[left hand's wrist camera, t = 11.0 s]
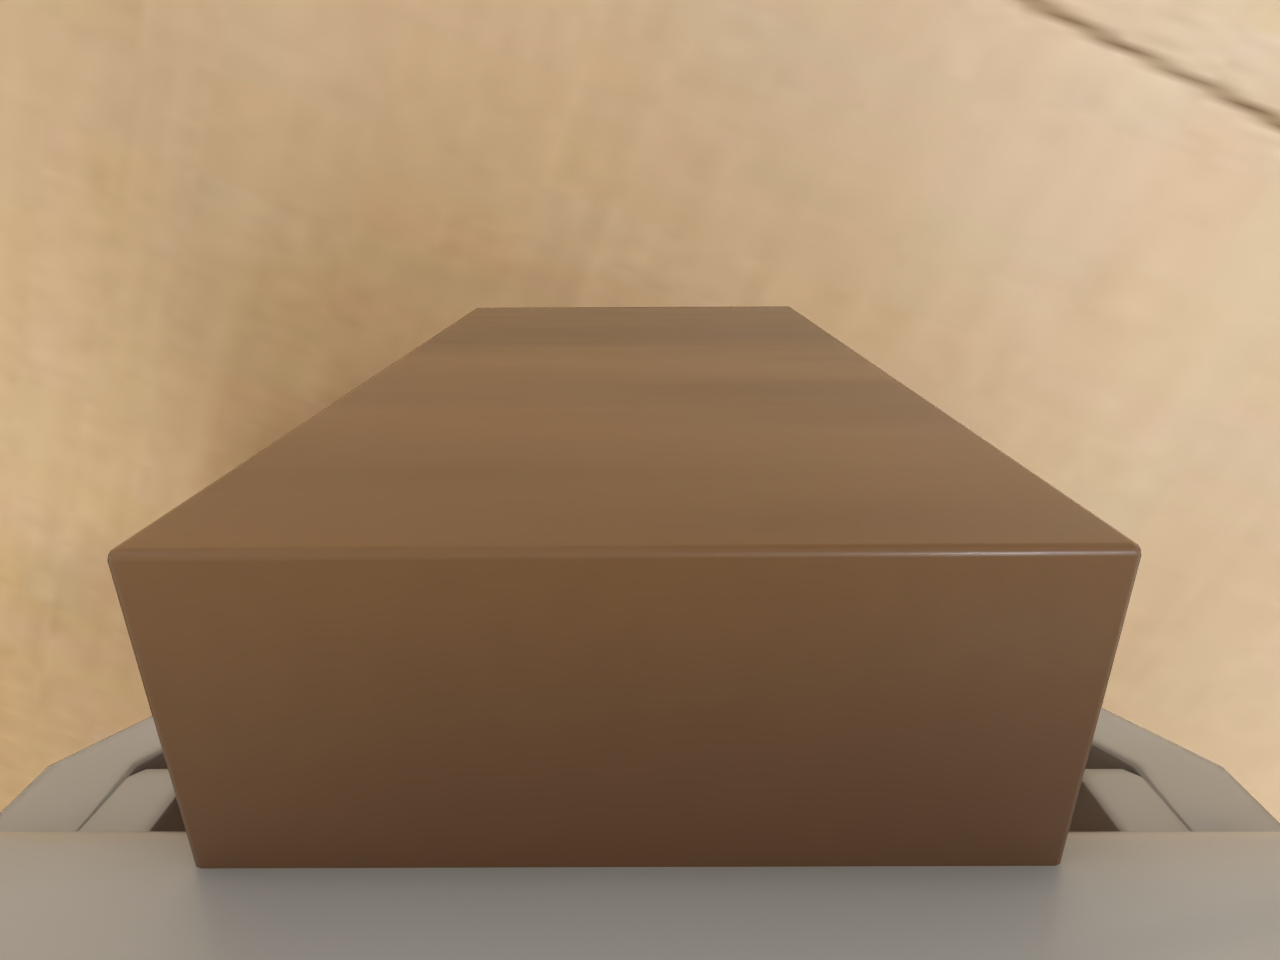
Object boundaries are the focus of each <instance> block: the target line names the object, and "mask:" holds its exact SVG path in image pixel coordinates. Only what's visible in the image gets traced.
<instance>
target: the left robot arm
mask: <svg viewBox="0 0 1280 960" xmlns="http://www.w3.org/2000/svg"><path fill="white" fill-rule="evenodd" d="M0 960H1280V823H1279V822H1278V821H1277V820H1276V819H1275V818H1274V817H1273V816H1272V815H1271V814H1270V813H1269V812H1268V811H1267V810H1266V809H1265V808H1264V807H1263V806H1262V805H1261V804H1260V803H1259V802H1258V801H1257V800H1256V799H1255V798H1254V797H1252V796H1251V795H1250V794H1249V793H1248V792H1247V791H1246V790H1245V789H1244V788H1243V787H1242V786H1241V785H1240V784H1239V783H1238V782H1237V781H1236V780H1235V779H1234V778H1233V777H1232V776H1231V775H1230V774H1229V773H1228V772H1227V771H1226V770H1225V769H1224V768H1223V767H1221V766H1219V765H1217V764H1215V763H1213V762H1211V761H1209V760H1207V759H1205V758H1203V757H1201V756H1199V755H1197V754H1195V753H1193V752H1191V751H1189V750H1187V749H1185V748H1183V747H1181V746H1178V745H1176V744H1174V743H1172V742H1170V741H1168V740H1166V739H1164V738H1162V737H1160V736H1158V735H1156V734H1154V733H1152V732H1150V731H1148V730H1146V729H1144V728H1142V727H1140V726H1138V725H1136V724H1134V723H1132V722H1129V721H1127V720H1125V719H1123V718H1121V717H1119V716H1117V715H1115V714H1113V713H1111V712H1109V711H1107V710H1105V709H1103V708H1101V710H1100V714H1099V718H1098V722H1097V725H1096V729H1095V733H1094V737H1093V741H1092V744H1091V748H1090V752H1089V756H1088V760H1087V763H1086V767H1085V771H1084V775H1083V779H1082V782H1081V786H1080V790H1079V794H1078V798H1077V801H1076V805H1075V809H1074V813H1073V817H1072V820H1071V824H1070V828H1069V832H1068V836H1067V839H1066V843H1065V847H1064V851H1063V855H1062V858H1061V862H1060V864H1058V865H1056V866H827V867H508V868H199V867H196V864H195V861H194V857H193V854H192V851H191V847H190V844H189V840H188V837H187V833H186V830H185V826H184V823H183V819H182V816H181V813H180V809H179V806H178V802H177V799H176V795H175V792H174V788H173V785H172V781H171V778H170V775H169V771H168V768H167V764H166V761H165V757H164V754H163V750H162V747H161V743H160V740H159V737H158V733H157V730H156V726H155V723H154V719H153V716H151V717H149V718H147V719H145V720H143V721H141V722H139V723H137V724H135V725H133V726H131V727H129V728H126V729H124V730H122V731H120V732H118V733H116V734H114V735H112V736H110V737H108V738H106V739H104V740H102V741H100V742H98V743H95V744H93V745H91V746H89V747H87V748H85V749H83V750H81V751H79V752H77V753H75V754H73V755H71V756H69V757H66V758H64V759H62V760H60V761H58V762H56V763H54V764H52V765H50V766H48V767H47V768H46V769H45V770H44V771H43V772H42V773H41V774H40V775H39V776H38V777H37V778H36V779H35V780H34V781H33V782H32V783H31V784H30V785H29V786H28V787H27V788H26V789H24V790H23V791H22V792H21V793H20V794H19V795H18V796H17V797H16V798H15V799H14V800H13V801H12V802H11V803H10V804H9V805H8V806H7V807H6V808H5V809H4V810H3V811H2V812H0Z"/></svg>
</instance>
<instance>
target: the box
mask: <svg viewBox="0 0 1280 960" xmlns="http://www.w3.org/2000/svg"><path fill="white" fill-rule="evenodd" d="M1140 558H1141V549H1140V547H1139V545H1138V544H1136V543H1135V542H1133V541H1132V540H1130V539H1129V538H1127V537H1126V536H1125V535H1123V534H1122V533H1120V532H1119V531H1117V530H1116V529H1114V528H1113V527H1111V526H1110V525H1108V524H1107V523H1105V522H1104V521H1103V520H1101V519H1100V518H1098V517H1097V516H1095V515H1094V514H1092V513H1091V512H1089V511H1088V510H1086V509H1085V508H1083V507H1082V506H1081V505H1079V504H1078V503H1076V502H1075V501H1073V500H1072V499H1070V498H1069V497H1067V496H1066V495H1064V494H1063V493H1061V492H1060V491H1059V490H1057V489H1056V488H1054V487H1053V486H1051V485H1050V484H1048V483H1047V482H1045V481H1044V480H1042V479H1041V478H1039V477H1038V476H1037V475H1035V474H1034V473H1032V472H1031V471H1029V470H1028V469H1026V468H1025V467H1023V466H1022V465H1020V464H1019V463H1018V462H1016V461H1015V460H1013V459H1012V458H1010V457H1009V456H1007V455H1006V454H1004V453H1003V452H1001V451H1000V450H998V449H997V448H996V447H994V446H993V445H991V444H990V443H988V442H987V441H985V440H984V439H982V438H981V437H979V436H978V435H976V434H975V433H974V432H972V431H971V430H969V429H968V428H966V427H965V426H963V425H962V424H960V423H959V422H957V421H956V420H954V419H953V418H952V417H950V416H949V415H947V414H946V413H944V412H943V411H941V410H940V409H938V408H937V407H935V406H934V405H932V404H931V403H930V402H928V401H927V400H925V399H924V398H922V397H921V396H919V395H918V394H916V393H915V392H913V391H912V390H910V389H909V388H908V387H906V386H905V385H903V384H902V383H900V382H899V381H897V380H896V379H894V378H893V377H891V376H890V375H888V374H887V373H886V372H884V371H883V370H881V369H880V368H878V367H877V366H875V365H874V364H872V363H871V362H869V361H868V360H866V359H865V358H864V357H862V356H861V355H859V354H858V353H856V352H855V351H853V350H852V349H850V348H849V347H847V346H846V345H845V344H843V343H842V342H840V341H839V340H837V339H836V338H834V337H833V336H831V335H830V334H828V333H827V332H825V331H824V330H823V329H821V328H820V327H818V326H817V325H815V324H814V323H812V322H811V321H809V320H808V319H806V318H805V317H803V316H802V315H801V314H799V313H798V312H796V311H795V310H793V309H792V308H790V307H585V308H477V309H475V310H474V311H472V312H471V313H469V314H468V315H466V316H465V317H463V318H461V319H460V320H458V321H457V322H455V323H454V324H452V325H451V326H449V327H448V328H446V329H445V330H443V331H442V332H440V333H439V334H437V335H436V336H434V337H433V338H431V339H430V340H428V341H427V342H425V343H424V344H422V345H421V346H419V347H418V348H416V349H415V350H413V351H412V352H410V353H409V354H407V355H406V356H404V357H403V358H401V359H400V360H398V361H397V362H395V363H393V364H392V365H390V366H389V367H387V368H386V369H384V370H383V371H381V372H380V373H378V374H377V375H375V376H374V377H372V378H371V379H369V380H368V381H366V382H365V383H363V384H362V385H360V386H359V387H357V388H356V389H354V390H353V391H351V392H350V393H348V394H347V395H345V396H344V397H342V398H341V399H339V400H338V401H336V402H335V403H333V404H332V405H330V406H328V407H327V408H325V409H324V410H322V411H321V412H319V413H318V414H316V415H315V416H313V417H312V418H310V419H309V420H307V421H306V422H304V423H303V424H301V425H300V426H298V427H297V428H295V429H294V430H292V431H291V432H289V433H288V434H286V435H285V436H283V437H282V438H280V439H279V440H277V441H276V442H274V443H273V444H271V445H270V446H268V447H267V448H265V449H264V450H262V451H260V452H259V453H257V454H256V455H254V456H253V457H251V458H250V459H248V460H247V461H245V462H244V463H242V464H241V465H239V466H238V467H236V468H235V469H233V470H232V471H230V472H229V473H227V474H226V475H224V476H223V477H221V478H220V479H218V480H217V481H215V482H214V483H212V484H211V485H209V486H208V487H206V488H205V489H203V490H202V491H200V492H199V493H197V494H195V495H194V496H192V497H191V498H189V499H188V500H186V501H185V502H183V503H182V504H180V505H179V506H177V507H176V508H174V509H173V510H171V511H170V512H168V513H167V514H165V515H164V516H162V517H161V518H159V519H158V520H156V521H155V522H153V523H152V524H150V525H149V526H147V527H146V528H144V529H143V530H141V531H140V532H138V533H137V534H135V535H134V536H132V537H131V538H129V539H127V540H126V541H124V542H123V543H121V544H120V545H118V546H117V547H115V548H114V549H112V550H111V551H110V553H109V554H108V564H109V567H110V571H111V574H112V578H113V581H114V585H115V588H116V592H117V595H118V598H119V602H120V605H121V609H122V612H123V616H124V619H125V623H126V626H127V630H128V633H129V636H130V640H131V643H132V647H133V650H134V654H135V657H136V661H137V664H138V668H139V671H140V674H141V678H142V681H143V685H144V688H145V692H146V695H147V699H148V702H149V705H150V709H151V712H152V716H153V719H154V723H155V726H156V730H157V733H158V737H159V740H160V743H161V747H162V750H163V754H164V757H165V761H166V764H167V768H168V771H169V775H170V778H171V781H172V785H173V788H174V792H175V795H176V799H177V802H178V806H179V809H180V813H181V816H182V819H183V823H184V826H185V830H186V833H187V837H188V840H189V844H190V847H191V851H192V854H193V857H194V861H195V864H196V867H199V868H508V867H827V866H1056V865H1058V864H1060V862H1061V858H1062V855H1063V851H1064V847H1065V843H1066V839H1067V836H1068V832H1069V828H1070V824H1071V820H1072V817H1073V813H1074V809H1075V805H1076V801H1077V798H1078V794H1079V790H1080V786H1081V782H1082V779H1083V775H1084V771H1085V767H1086V763H1087V760H1088V756H1089V752H1090V748H1091V744H1092V741H1093V737H1094V733H1095V729H1096V725H1097V722H1098V718H1099V714H1100V710H1101V706H1102V703H1103V699H1104V695H1105V691H1106V687H1107V684H1108V680H1109V676H1110V672H1111V668H1112V665H1113V661H1114V657H1115V653H1116V649H1117V646H1118V642H1119V638H1120V634H1121V630H1122V627H1123V623H1124V619H1125V615H1126V611H1127V608H1128V604H1129V600H1130V596H1131V592H1132V589H1133V585H1134V581H1135V577H1136V573H1137V570H1138V566H1139V562H1140Z"/></svg>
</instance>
